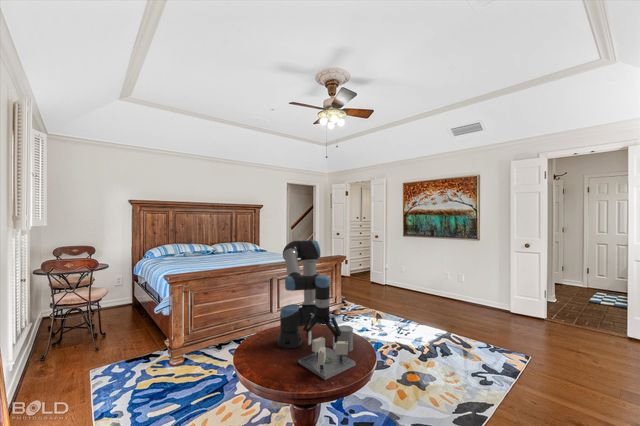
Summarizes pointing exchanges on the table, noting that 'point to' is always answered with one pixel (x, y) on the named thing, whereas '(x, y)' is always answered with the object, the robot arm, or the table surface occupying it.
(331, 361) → the grey flat square plate
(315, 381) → the table surface
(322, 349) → the knob
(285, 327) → the robot arm
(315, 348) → the knob back
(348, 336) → the gray cylinder
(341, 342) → the knob
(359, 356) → the table surface
